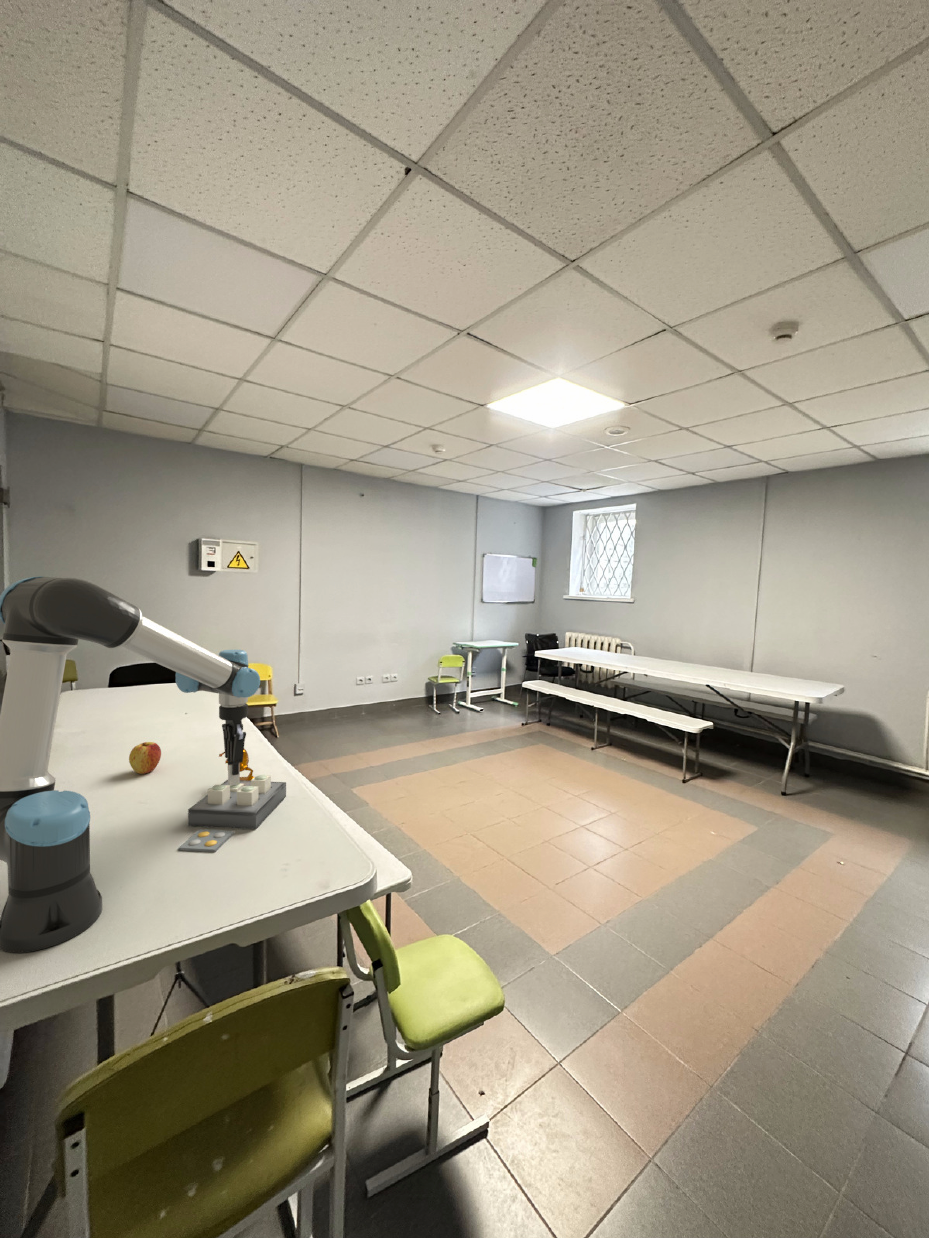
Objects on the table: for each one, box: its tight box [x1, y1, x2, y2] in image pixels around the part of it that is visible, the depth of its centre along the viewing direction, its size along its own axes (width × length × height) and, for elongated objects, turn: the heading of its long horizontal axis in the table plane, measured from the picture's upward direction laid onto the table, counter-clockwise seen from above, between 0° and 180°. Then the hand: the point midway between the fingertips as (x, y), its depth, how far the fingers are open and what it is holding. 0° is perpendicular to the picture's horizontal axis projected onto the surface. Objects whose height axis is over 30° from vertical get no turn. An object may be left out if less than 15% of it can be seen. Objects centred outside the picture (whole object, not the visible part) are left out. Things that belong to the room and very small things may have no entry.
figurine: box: [218, 748, 255, 781], centre depth 158 cm, size 8×11×12 cm
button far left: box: [230, 784, 244, 792], centre depth 144 cm, size 4×4×4 cm
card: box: [177, 828, 235, 853], centre depth 123 cm, size 9×9×1 cm
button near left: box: [207, 784, 230, 805], centre depth 136 cm, size 4×4×4 cm
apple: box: [128, 741, 162, 775], centre depth 165 cm, size 9×9×10 cm
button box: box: [187, 779, 287, 830], centre depth 140 cm, size 20×18×4 cm
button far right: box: [251, 774, 272, 794], centre depth 143 cm, size 4×4×4 cm
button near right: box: [237, 786, 258, 806], centre depth 135 cm, size 4×4×4 cm
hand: (233, 784), depth 144 cm, fingers closed
